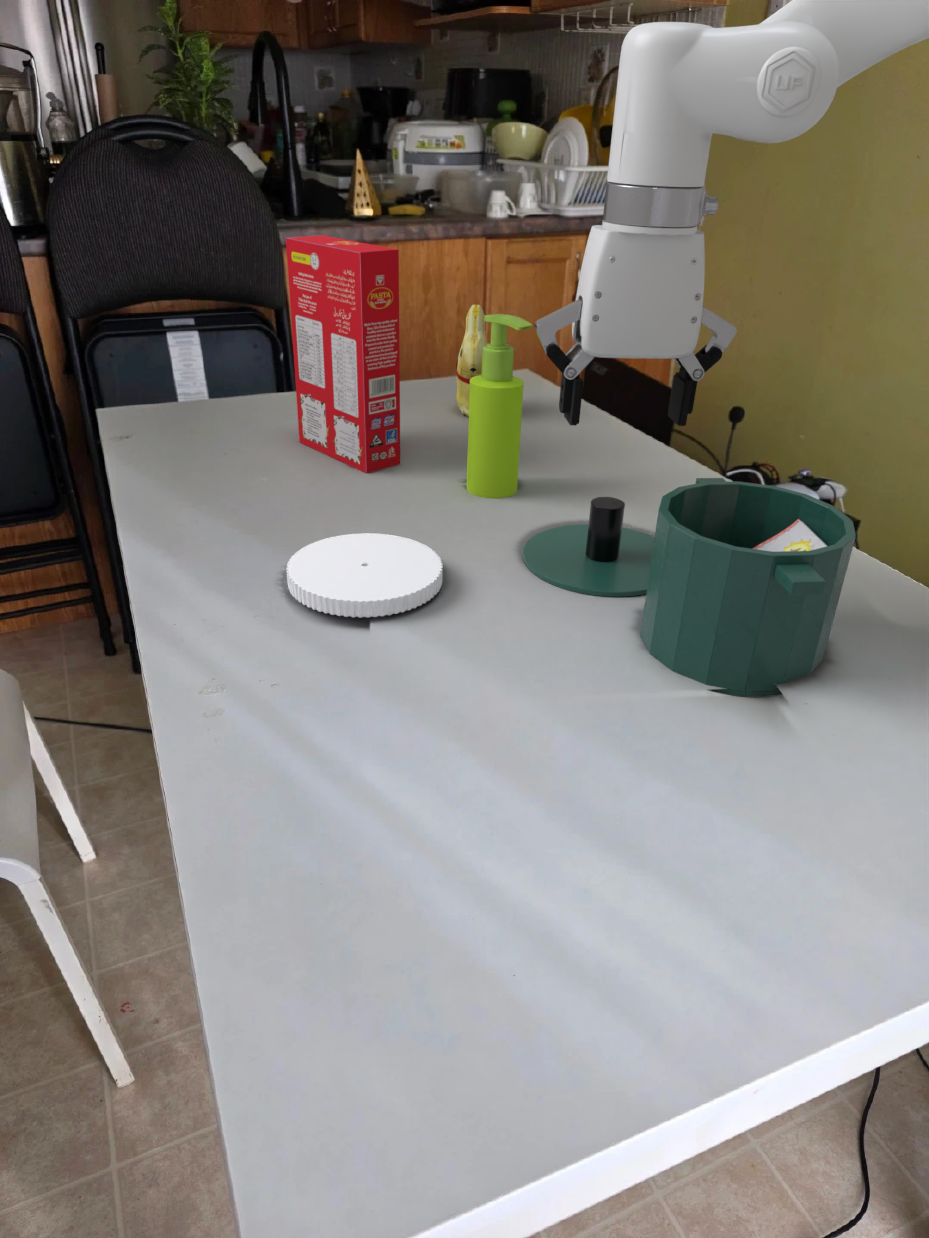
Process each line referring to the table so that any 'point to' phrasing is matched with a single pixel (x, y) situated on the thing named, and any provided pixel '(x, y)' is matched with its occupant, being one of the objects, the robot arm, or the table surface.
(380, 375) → the food packaging
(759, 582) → the pot
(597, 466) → the table surface
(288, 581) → the plastic lid
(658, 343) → the robot arm
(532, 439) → the table surface
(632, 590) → the pot lid
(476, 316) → the chocolate bunny
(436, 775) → the table surface
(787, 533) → the white cardboard box
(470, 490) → the soap dispenser
